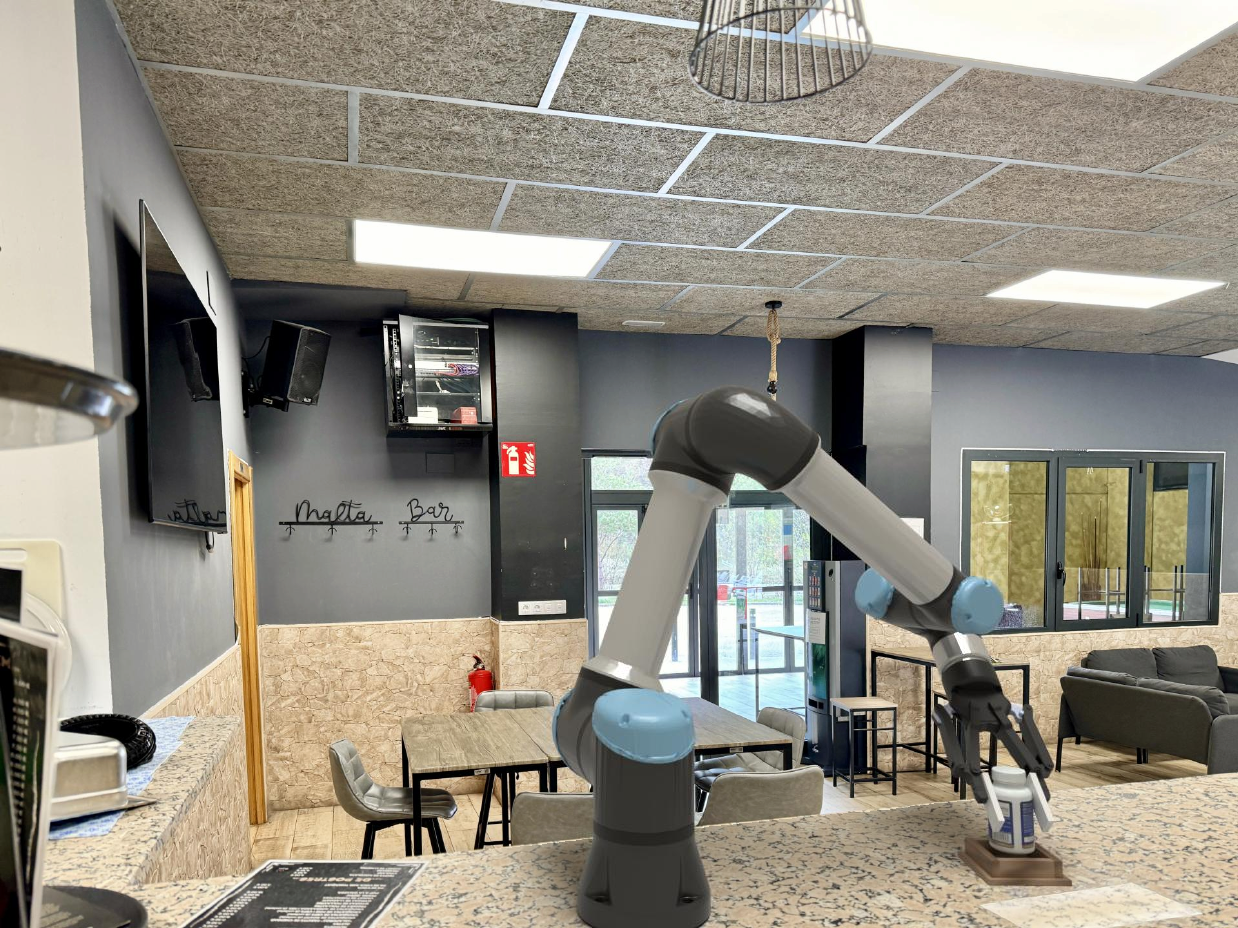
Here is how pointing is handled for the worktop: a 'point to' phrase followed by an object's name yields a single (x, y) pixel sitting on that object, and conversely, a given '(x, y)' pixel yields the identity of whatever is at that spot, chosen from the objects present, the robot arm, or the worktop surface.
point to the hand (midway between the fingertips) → (1023, 825)
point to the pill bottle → (1013, 812)
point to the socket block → (1013, 865)
